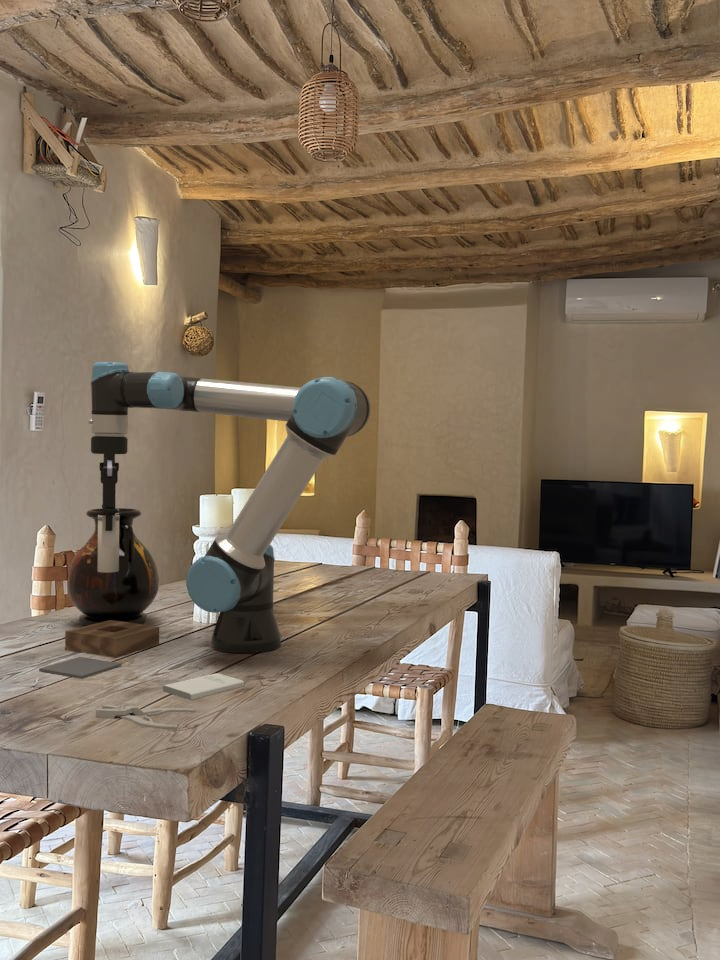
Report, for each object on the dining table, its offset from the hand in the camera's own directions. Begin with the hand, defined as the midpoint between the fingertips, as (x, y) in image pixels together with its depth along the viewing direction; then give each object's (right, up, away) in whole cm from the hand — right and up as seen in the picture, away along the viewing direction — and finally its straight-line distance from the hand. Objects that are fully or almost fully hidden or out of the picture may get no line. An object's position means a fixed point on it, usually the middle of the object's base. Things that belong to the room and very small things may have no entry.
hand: (108, 544), depth 194 cm
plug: (0, -6, 0) cm, 6 cm away
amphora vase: (-6, -22, +27) cm, 35 cm away
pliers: (+18, -26, -45) cm, 55 cm away
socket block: (0, -23, +4) cm, 23 cm away
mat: (-1, -23, -15) cm, 28 cm away
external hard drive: (+25, -25, -27) cm, 45 cm away
